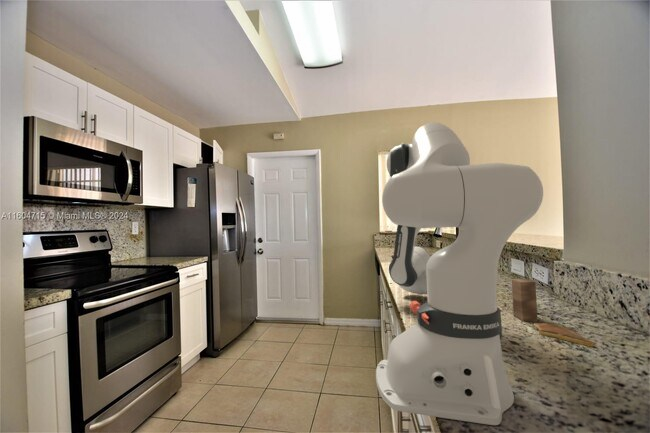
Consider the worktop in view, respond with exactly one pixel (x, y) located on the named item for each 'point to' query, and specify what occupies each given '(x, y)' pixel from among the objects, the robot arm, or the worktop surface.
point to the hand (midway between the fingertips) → (484, 292)
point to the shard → (562, 334)
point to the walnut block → (524, 299)
